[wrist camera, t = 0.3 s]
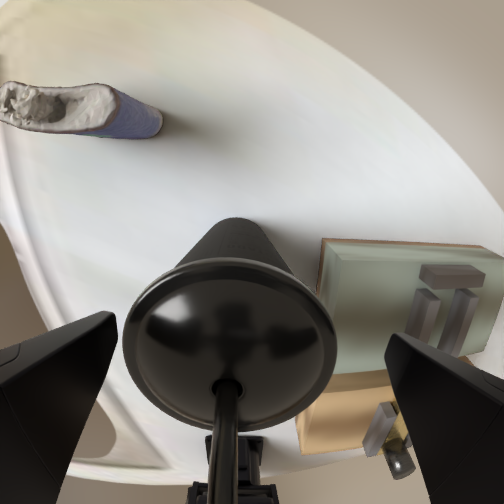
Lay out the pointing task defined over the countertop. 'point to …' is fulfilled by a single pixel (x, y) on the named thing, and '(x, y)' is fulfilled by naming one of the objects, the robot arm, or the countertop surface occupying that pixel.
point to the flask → (78, 111)
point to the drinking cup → (230, 343)
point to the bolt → (397, 448)
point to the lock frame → (393, 327)
